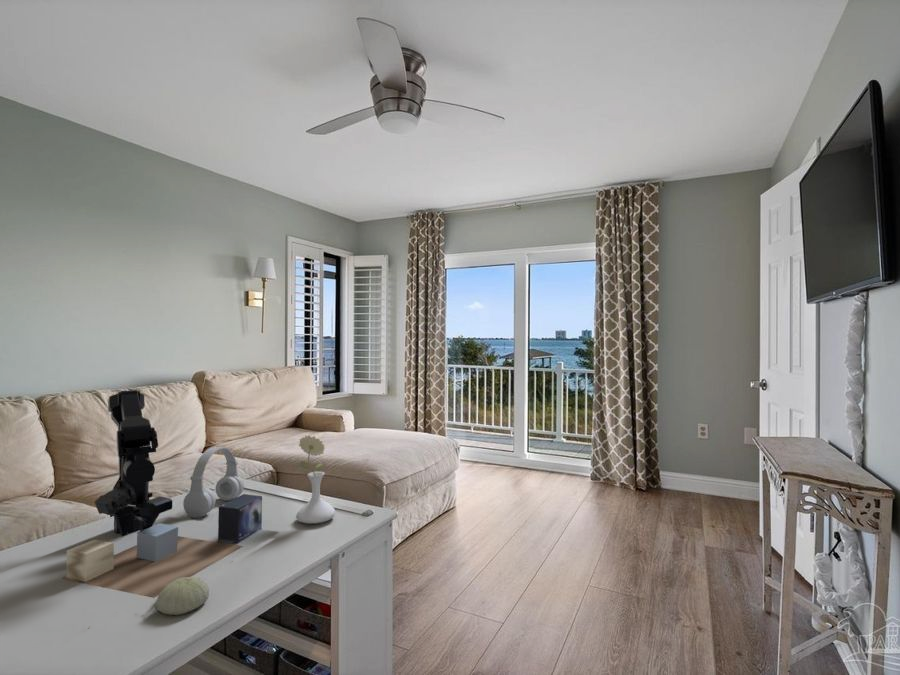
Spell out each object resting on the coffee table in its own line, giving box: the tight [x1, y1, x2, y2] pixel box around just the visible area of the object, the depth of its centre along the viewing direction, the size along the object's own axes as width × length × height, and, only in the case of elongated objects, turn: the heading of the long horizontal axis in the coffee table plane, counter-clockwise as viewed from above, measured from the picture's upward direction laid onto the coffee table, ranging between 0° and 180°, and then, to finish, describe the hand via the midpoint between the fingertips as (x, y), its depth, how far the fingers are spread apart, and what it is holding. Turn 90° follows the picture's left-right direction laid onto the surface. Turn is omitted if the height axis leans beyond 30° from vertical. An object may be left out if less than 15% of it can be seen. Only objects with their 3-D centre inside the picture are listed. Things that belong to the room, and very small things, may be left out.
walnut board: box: [60, 535, 244, 599], centre depth 109 cm, size 27×25×1 cm
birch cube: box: [65, 539, 115, 582], centre depth 103 cm, size 6×6×6 cm
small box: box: [217, 493, 263, 544], centre depth 124 cm, size 11×6×10 cm, turn 168°
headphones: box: [183, 446, 245, 519], centre depth 149 cm, size 20×8×19 cm, turn 172°
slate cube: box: [136, 522, 179, 562], centre depth 112 cm, size 6×6×6 cm
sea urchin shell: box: [155, 576, 210, 616], centre depth 93 cm, size 9×8×8 cm
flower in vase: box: [295, 435, 336, 525], centre depth 138 cm, size 13×11×25 cm
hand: (133, 537), depth 115 cm, fingers open, 6 cm apart
